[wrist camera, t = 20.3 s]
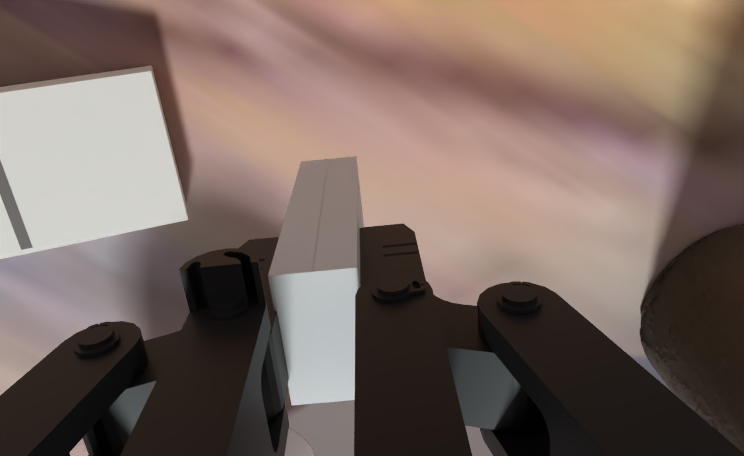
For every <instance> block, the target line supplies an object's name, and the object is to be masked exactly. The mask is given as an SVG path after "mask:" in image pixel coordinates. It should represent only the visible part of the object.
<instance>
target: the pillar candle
mask: <svg viewBox="0 0 744 456" xmlns="http://www.w3.org/2000/svg"><path fill="white" fill-rule="evenodd" d="M641 315H642V320H641V325H642V330H641V342H642V346H643V349H644V352H645V354H646V356H647V358H648V360H649V362H650V363H651V365H652V366H653V367H654V369H655V370H656V371H657V373H658V374H659V375H660V376H661V378H662V379H663V380H664V381H665V383H666V384H667V386H668V387H669V389H670V390H671V391H672V392H673V393H674V394H675V395H676V396H677V397H678V398H679V399H681V400H682V401H683V402H684V403H685V404H686V405H688V406H689V407H690V408H691V409H692V410H693V411H695V412H696V413H697V414H698V415H699V416H701V417H702V418H703V419H704V420H705V421H706V422H708V423H709V424H710V425H711V426H712V427H713V428H715V429H716V430H717V431H718V432H719V433H720V434H722V435H723V436H724V437H725V438H726V439H727V440H729V441H730V442H731V443H732V444H733V445H735V446H736V447H737V448H738V449H739V450H740V451H742V452H743V453H744V225H741V226H734V227H732V228H727V229H724V230H721V231H718V232H716V233H714V234H712V235H711V236H709V237H705V238H703V239H701V240H700V241H698V242H697V243H695V244H694V245H692V246H691V247H690V248H687V249H686V250H684V252H683V253H682V255H679V256H678V257H677V258H676V259H674V260H673V262H672V263H671V264H669V266H668V267H667V268H666V269H665V270H664V271H663V272H662V273H661V275H660V276H659V279H658V280H657V282H656V283H655V284H654V287H653V288H652V290H651V291H650V292H649V294H648V296H647V298H646V301H645V302H644V305H643V307H642V312H641Z"/></svg>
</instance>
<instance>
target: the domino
mask: <svg viewBox="0 0 744 456" xmlns="http://www.w3.org/2000/svg"><path fill="white" fill-rule="evenodd" d="M185 220H188V214H187V205H186V201H185V197H184V193H183V189H182V185H181V181H180V177H179V173H178V169H177V165H176V161H175V157H174V153H173V149H172V144H171V140H170V136H169V132H168V128H167V124H166V120H165V116H164V112H163V108H162V104H161V100H160V96H159V92H158V88H157V84H156V80H155V76H154V72H153V68H152V65H151V66H144V67H137V68H130V69H123V70H116V71H109V72H102V73H95V74H88V75H81V76H74V77H67V78H60V79H53V80H46V81H39V82H32V83H25V84H18V85H11V86H4V87H0V259H4V258H9V257H13V256H18V255H23V254H28V253H32V252H37V251H42V250H47V249H52V248H56V247H61V246H66V245H71V244H75V243H80V242H85V241H90V240H94V239H99V238H104V237H109V236H114V235H118V234H123V233H128V232H133V231H137V230H142V229H147V228H152V227H156V226H161V225H166V224H171V223H176V222H180V221H185Z"/></svg>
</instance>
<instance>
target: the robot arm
mask: <svg viewBox="0 0 744 456" xmlns="http://www.w3.org/2000/svg"><path fill="white" fill-rule="evenodd" d="M179 270H180V274H181V278H182V282H183V286H184V290H185V294H186V298H187V302H188V306H189V310H190V313H189V315H188V317H187V319H186V321H185V323H184V325H183V327H182V329H181V331H178V332H175V333H172V334H169V335H165V336H161V337H158V338H154V339H150V340H147V341H143V337H142V334H141V330H140V328H139V327H137V326H136V325H135V324H134V323H128V322H123V321H120V322H104V323H100V324H99V325H98V324H95V325H92V326H89V327H88V328H87V329H85V330H82V331H80V332H78V333H76V334H74V335H73V336H71V337H70V338H68V339H67V340H65V341H64V342H62V343H61V344H60V345H59V346H58V347H57V348H55V349H54V350H53V351H52V352H51V353H50V354H48V355H47V356H46V357H45V358H44V359H43V360H41V361H40V362H39V363H38V364H37V365H36V366H34V367H33V368H32V369H31V370H30V371H29V372H27V373H26V374H25V375H24V376H23V377H22V378H20V379H19V380H18V381H17V382H16V383H15V384H13V385H12V386H11V387H10V388H9V389H8V390H6V391H5V392H4V393H3V394H2V395H0V456H70V454H69V453H70V451H71V450H72V449H73V448H74V447H75V446H76V444H77V443H78V442H79V441H80V440H81V439H82V438H83V440H84V443H85V445H86V448H87V451H88V453H89V455H88V456H285V449H286V442H287V435H288V429H289V421H288V415H287V409H286V404H285V398H286V392H287V386H288V388H289V394H290V399H291V405H303V404H314V403H325V402H336V401H347V400H355V432H354V433H355V434H354V435H355V438H354V443H355V444H354V456H472V453H471V449H470V445H469V441H468V436H467V432H466V428H465V425H466V426H473V427H479V428H480V431H481V433H482V436H483V439H484V441H485V443H486V445H487V446H488V448H489V450H490V451H491V453H492V454H493V456H744V453H743V452H742V451H740V450H739V449H738V448H737V447H736V446H735V445H733V444H732V443H731V442H730V441H729V440H727V439H726V438H725V437H724V436H723V435H722V434H720V433H719V432H718V431H717V430H716V429H715V428H713V427H712V426H711V425H710V424H709V423H708V422H706V421H705V420H704V419H703V418H702V417H701V416H699V415H698V414H697V413H696V412H695V411H693V410H692V409H691V408H690V407H689V406H688V405H686V404H685V403H684V402H683V401H682V400H681V399H679V398H678V397H677V396H676V395H675V394H674V393H672V392H671V391H670V390H669V389H668V388H666V387H665V386H664V385H663V384H662V383H661V382H660V381H658V380H657V379H656V378H655V377H654V376H652V375H651V374H650V373H649V372H648V371H647V370H645V369H644V368H643V367H642V366H641V365H640V364H638V363H637V362H636V361H635V360H634V359H633V358H631V357H630V356H629V355H628V354H627V353H626V352H624V351H623V350H622V349H621V348H620V347H619V346H617V345H616V344H615V343H614V342H613V341H611V340H610V339H609V338H608V337H607V336H606V335H604V334H603V333H602V332H601V331H600V330H599V329H597V328H596V327H595V326H594V325H593V324H592V323H590V322H589V321H588V320H587V319H586V318H585V317H583V316H582V315H581V314H580V313H579V312H578V311H576V310H575V309H574V308H573V307H572V306H570V305H569V304H568V303H567V302H566V301H565V300H563V299H562V298H561V297H560V296H559V295H558V294H556V293H555V292H553V291H551V290H550V289H548V288H546V287H543V286H540V285H536V284H532V283H530V282H510V283H502V284H498V285H495V286H493V287H490V288H488V289H486V290H485V291H484V292H483V293H481V294H480V296H479V299H478V302H477V306H471V305H462V304H455V303H451V302H448V301H444V300H442V299H440V298H438V297H436V296H435V295H433V290H432V288H431V286H430V285H429V283H428V282H427V281H426V280H425V276H424V271H423V267H422V263H421V258H420V254H419V250H418V245H417V241H416V237H415V232H414V231H412V230H411V229H410V228H408V227H407V226H406V225H404V224H395V225H384V226H374V227H364V224H363V214H362V205H361V195H360V186H359V177H358V167H357V158H356V156H355V157H345V158H335V159H324V160H314V161H304V162H301V164H300V167H299V171H298V174H297V178H296V181H295V185H294V188H293V191H292V195H291V198H290V202H289V205H288V209H287V212H286V215H285V219H284V222H283V226H282V229H281V233H280V236H279V237H275V238H265V239H254V240H248V241H247V242H246V243H245V244H243V245H242V246H241V247H240V248H238V249H222V250H217V251H211V252H208V253H205V254H202V255H199V256H197V257H195V258H193V259H192V260H190V261H188V262H186V263H185V264H184V265H183V266H182V267H181V268H180V269H179Z"/></svg>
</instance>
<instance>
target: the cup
mask: <svg viewBox="0 0 744 456" xmlns="http://www.w3.org/2000/svg"><path fill="white" fill-rule="evenodd" d="M285 456H315V455H314V453H313V451H312V449H311V447H310V446H309V444H308V443H307V442H306V441H305V439H304V438H303V437H302V436H300V435H299V434H298V433H297V432H295V431H294V430H292V429H290V428H289V429H288V435H287V442H286V449H285Z"/></svg>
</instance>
